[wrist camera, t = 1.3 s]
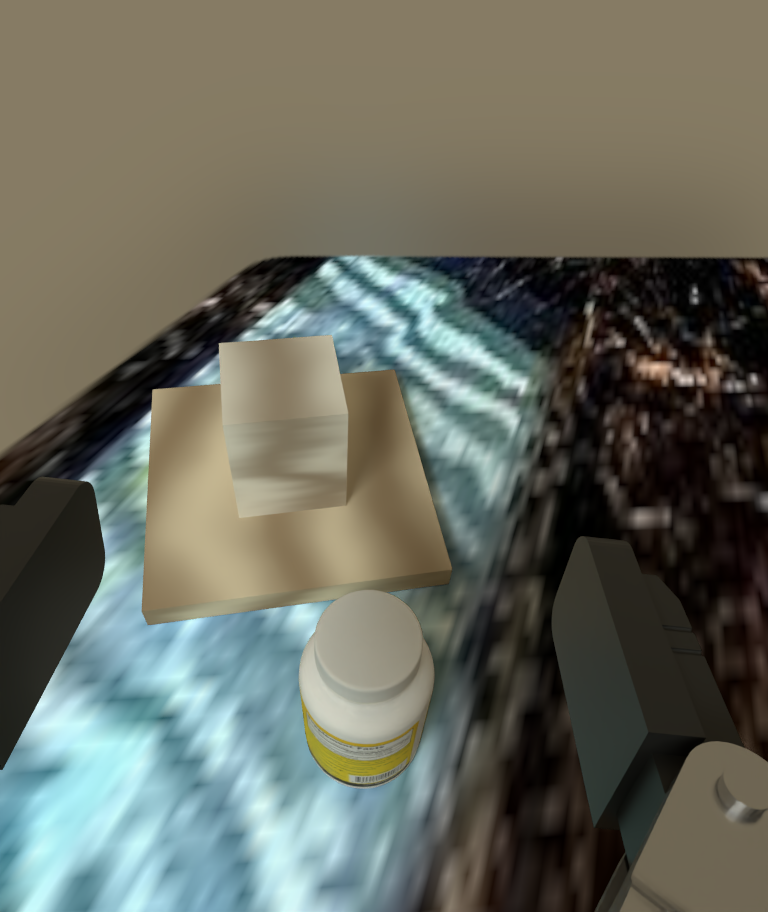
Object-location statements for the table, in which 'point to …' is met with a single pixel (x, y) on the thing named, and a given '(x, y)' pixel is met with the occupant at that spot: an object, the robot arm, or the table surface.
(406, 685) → the supplement bottle
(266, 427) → the pedestal
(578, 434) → the table surface
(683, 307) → the table surface
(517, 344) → the table surface
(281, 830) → the table surface
